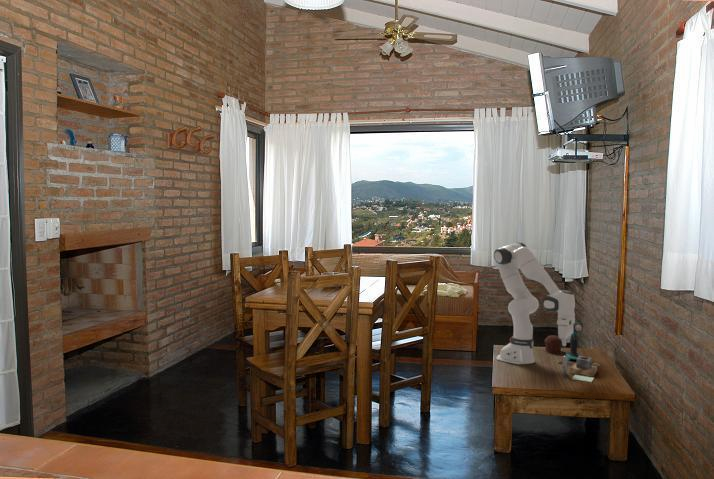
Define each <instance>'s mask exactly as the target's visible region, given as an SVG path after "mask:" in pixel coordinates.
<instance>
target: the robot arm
mask: <svg viewBox="0 0 714 479" xmlns="http://www.w3.org/2000/svg"><path fill="white" fill-rule="evenodd" d="M493 259H494V261H495V263H496V264H498V266H497V267H498V271H499V274H500V277H501V280H502V283H503V285H504V288H505V289H506V291H507V292H508V294H510V295H511V297H512V298H513V299H512V300H510V302H509V303H508V306H507V310H508V311H507V312H508V313H509V314H510V315H511V317H512V319H511V320H512V323H513V335H512V336H511V337H510V338H509V342H508V343H507V344H506V345H504V347H502V348H501V350H500V352H499V353H500V354H498V355H497V356H496V360H497V361H501V362H505V363H510V364H515V365H529V364H534V363H535V362H536V361H535V357H534V350H533V348H534V337H533V335H534V331H533V330H534V326H533V324H532V322H531V319H530V315H532V314H534V313H535V312H536V311H537V310H538V309H539V306H540V305H539V304H540V302H539V300H538V299H537V298H536V297H535V296H534V295H533V294H532V293H531V292H530V290H529V289H528V287H527V286H526V284H525V283H524V280H523V279H522V276H521V273H522V274H523V276H524V277H525V278H527V279H528V280H533V281H535V282H538V283H540V284H541V285H542V286H544V288H545V289H546V291H547V292H548V294H547V295H545V296H543V297H542V299H541V306H542V308H543V310H544V311H546V312H548V313H553V312H556V313H557V321H556V325H557V336H558V337H559V339H561V340H562V346H561V347H566V346H567V343H568V344H570V340H571V334H572V333H573V324H574V323H575V318H576V313H575V308H576V301H575V300H576V298H575V294H574V292H573V291H571V290H566V289H560V287H559V286H558V284H557V283H556V282H555V280H554V279H553V277H552V276H551V275H550V274H549V273H548V271H546V269H545V268H544V267H543V266H542V265H541V263H540V262H539V261H538V259H537V257H536V256H535V254H534V253H533V252H532V250H530V249H529V248H528V246H527V245H526V244H525V243H524V242H515V243H509V244H507V245H504V246H501V247H498V248H496V249H495V250H494V252H493ZM517 265H518V266H517ZM518 268H519V269H520V271H519V269H518ZM520 272H521V273H520Z"/></svg>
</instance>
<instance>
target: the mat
mask: <svg viewBox="0 0 714 479" xmlns="http://www.w3.org/2000/svg"><path fill="white" fill-rule="evenodd" d="M571 380H576V381H582V382H587V383H592V382H593V380H595V377H594V376H593V377H592V376H585V375H579V374H573V376H572V378H571Z"/></svg>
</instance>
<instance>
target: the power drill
mask: <svg viewBox="0 0 714 479" xmlns="http://www.w3.org/2000/svg"><path fill="white" fill-rule="evenodd" d="M583 329H584V326H583V324H582V322H581V321H580V320H579V319H577V318H576V317H575V323H574V324H573V333H572V334H571V338H570V342H569V344H570V345H569V347H570V349H569V350H570V351H569V352H566V353H565V354H564V356H568V361H569V362H570V360H576V359H577V358H578V357H579V356H582V355H581V353H578V345H579V344H578V333H581V332H582V331H583Z"/></svg>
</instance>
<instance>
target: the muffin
mask: <svg viewBox="0 0 714 479" xmlns="http://www.w3.org/2000/svg"><path fill="white" fill-rule="evenodd" d="M543 341H544V345H545V346H544V347H545V351H546V352H548V353H552V354H558V353H561V351H562V347H563V346H562V339H559V336H558V335H554V334H553V335H551V334H550V335H548V336H547V337H546V338H545V339H544V340H543Z"/></svg>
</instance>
